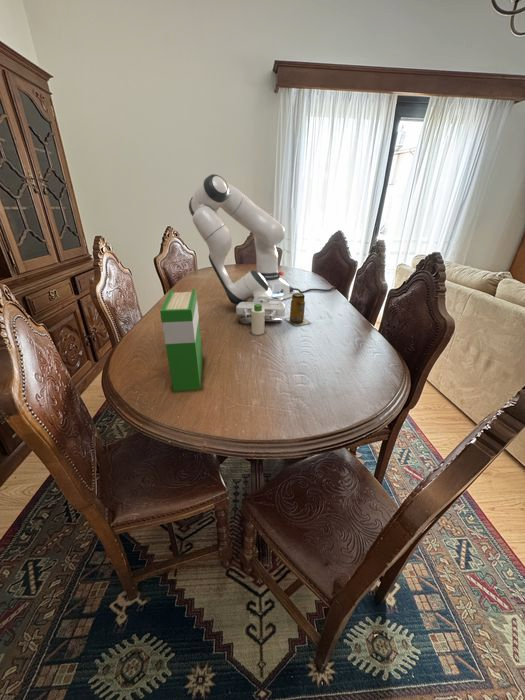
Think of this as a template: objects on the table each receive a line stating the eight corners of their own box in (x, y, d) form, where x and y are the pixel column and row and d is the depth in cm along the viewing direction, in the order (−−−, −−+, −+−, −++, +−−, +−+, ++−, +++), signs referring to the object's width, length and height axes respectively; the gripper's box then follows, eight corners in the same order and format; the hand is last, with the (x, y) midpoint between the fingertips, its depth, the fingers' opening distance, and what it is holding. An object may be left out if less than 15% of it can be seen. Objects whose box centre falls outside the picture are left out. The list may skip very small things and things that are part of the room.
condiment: (299, 317, 131) (301, 291, 126) (309, 323, 125) (312, 296, 119) (285, 319, 128) (286, 293, 123) (295, 326, 122) (297, 299, 116)
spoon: (281, 319, 129) (281, 316, 128) (282, 324, 123) (282, 321, 122) (240, 318, 128) (240, 315, 128) (239, 324, 123) (239, 321, 122)
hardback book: (180, 359, 96) (170, 289, 84) (202, 358, 97) (195, 289, 85) (173, 391, 80) (160, 310, 69) (200, 389, 81) (191, 309, 70)
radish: (260, 328, 119) (260, 302, 114) (266, 333, 115) (267, 306, 110) (249, 331, 117) (248, 304, 111) (255, 336, 113) (255, 308, 107)
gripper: (238, 296, 124) (232, 307, 112) (285, 298, 123) (285, 309, 110) (238, 310, 127) (233, 322, 115) (284, 312, 126) (284, 324, 114)
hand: (259, 316), depth 113 cm, fingers open, 8 cm apart
